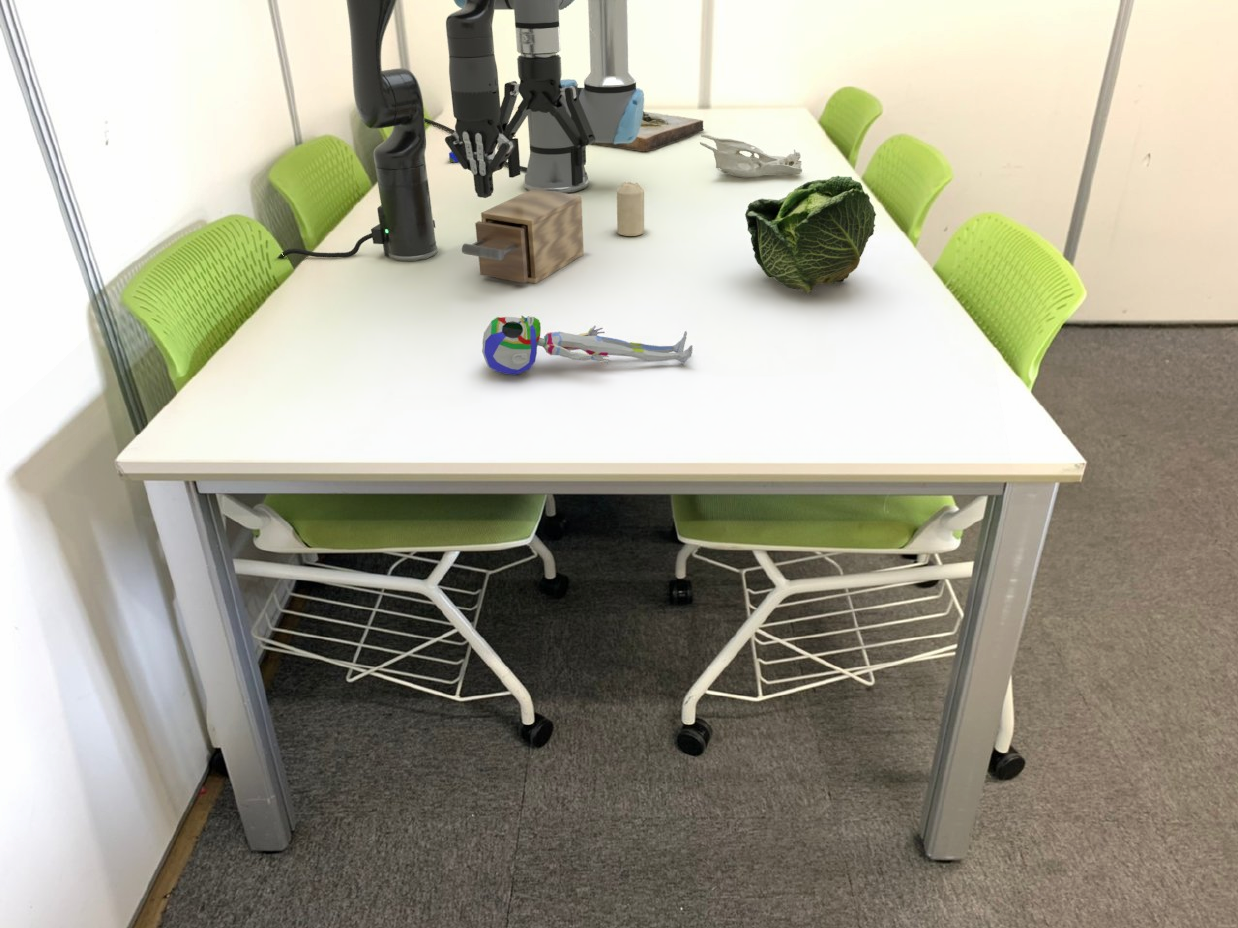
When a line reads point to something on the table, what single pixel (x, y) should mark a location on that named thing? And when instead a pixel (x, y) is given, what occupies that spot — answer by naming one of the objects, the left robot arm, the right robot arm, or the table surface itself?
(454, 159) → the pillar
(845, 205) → the vegetable
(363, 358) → the table surface
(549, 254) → the cabinet
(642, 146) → the plaque
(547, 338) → the toy
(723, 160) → the anatomical model
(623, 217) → the candle
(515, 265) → the drawer
